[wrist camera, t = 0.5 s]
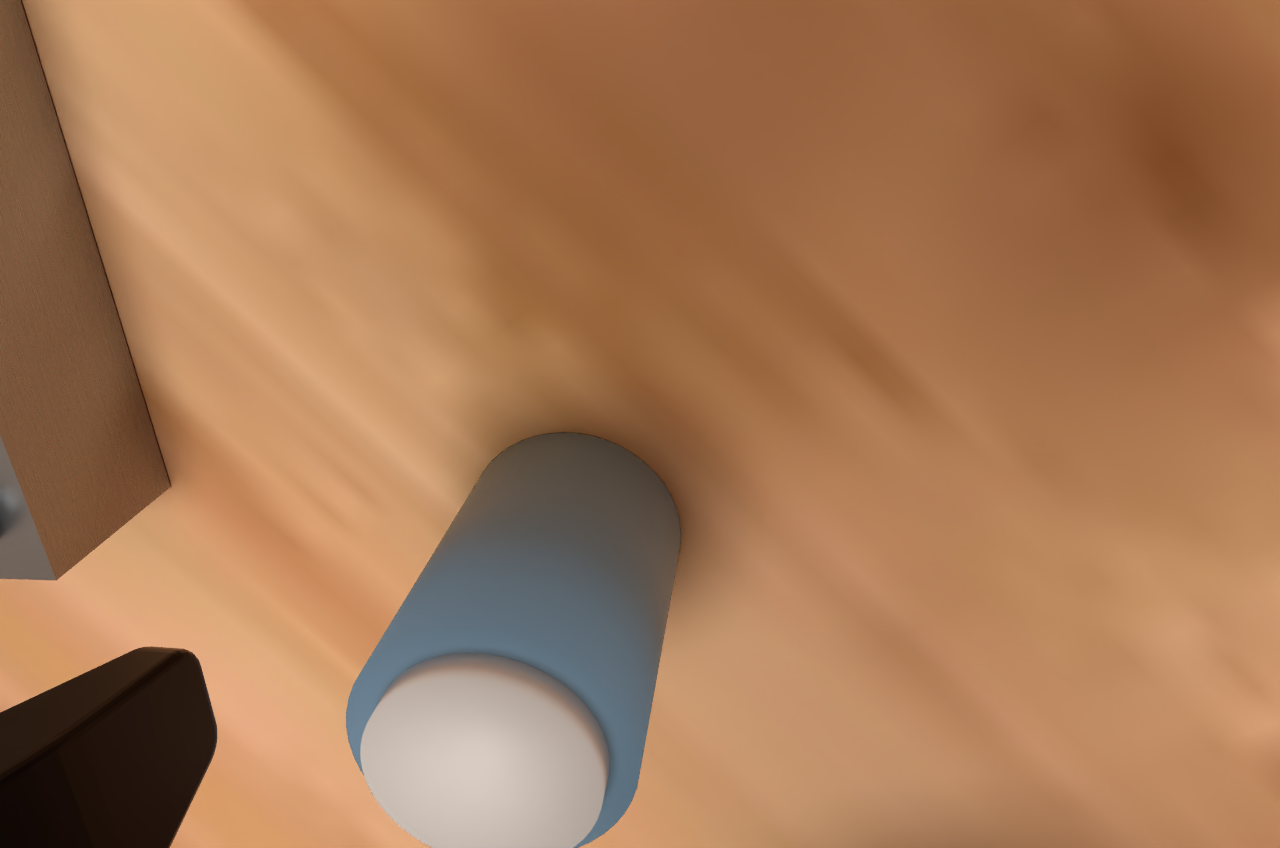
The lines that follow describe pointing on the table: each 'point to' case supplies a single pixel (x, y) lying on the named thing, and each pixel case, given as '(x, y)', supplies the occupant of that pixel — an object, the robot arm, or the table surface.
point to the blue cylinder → (525, 654)
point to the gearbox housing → (58, 347)
